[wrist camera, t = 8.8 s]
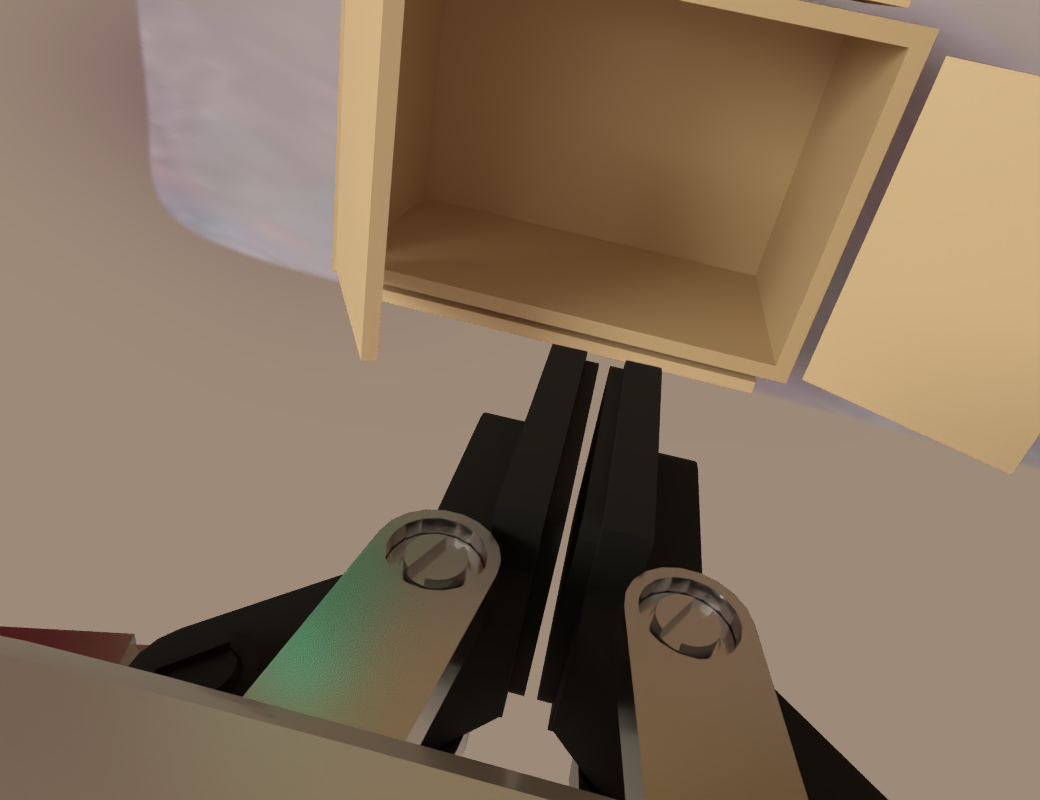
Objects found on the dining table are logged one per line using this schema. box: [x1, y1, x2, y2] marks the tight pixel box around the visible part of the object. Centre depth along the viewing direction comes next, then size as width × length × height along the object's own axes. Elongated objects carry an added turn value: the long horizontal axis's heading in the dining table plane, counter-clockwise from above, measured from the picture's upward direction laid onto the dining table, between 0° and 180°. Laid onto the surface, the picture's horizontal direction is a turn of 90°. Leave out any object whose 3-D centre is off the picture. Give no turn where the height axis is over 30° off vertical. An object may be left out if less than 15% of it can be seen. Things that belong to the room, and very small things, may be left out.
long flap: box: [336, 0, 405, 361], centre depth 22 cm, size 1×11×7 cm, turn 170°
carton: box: [332, 0, 940, 393], centre depth 29 cm, size 18×14×10 cm
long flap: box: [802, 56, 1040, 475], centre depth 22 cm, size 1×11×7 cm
